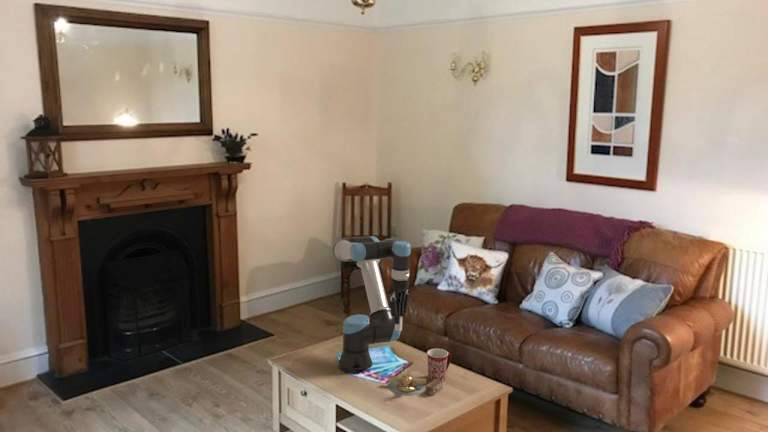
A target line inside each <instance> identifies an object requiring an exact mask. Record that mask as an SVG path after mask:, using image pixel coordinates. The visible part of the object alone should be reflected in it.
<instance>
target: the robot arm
mask: <svg viewBox="0 0 768 432" xmlns="http://www.w3.org/2000/svg"><path fill="white" fill-rule="evenodd" d="M331 250H332V255H333V257H334V258H335V259H337V260H338V261H339V262H340V261H341V262H355V264H356V266H357V267H358V268H360V271H361V274H362V280H363V283H364V287H365V291H366V296H367V301H368V305H369V310H370V313H369V315H367V314H352V315H350V316H347V317H346V318H345V319H344V321H343V324H342V325H343V326H342V352H341V355H340V358H339V360H338V368H339V369H340V370H341V371H342V372H345V373H349V374H361V373H363V372H364V371H367V370H369V369H370V368H372V367H373V360H372V358H371V355H370V352H369V348H370V347H369V346H370V345H372V344H383V343H390V342H394V341H397V340H398V339H399V338H400V335H401V332H402V331H403V320H404V317H405V316H406V313H407V310H408V305H409V298H410V295H411V290H409V289H408V288H409V286H410V279H409V278H410V267H411V266H410V265H411V252H412V249H411V243H409V242H408V241H406V240H405V241H404V240H395V239H393V238H386V239H384V240H383V241H380V240H379V238H378V237H376V236H373V235H372V236H370V235H367V236H366V235H365V236H357V237H343V238H341V239H338V240H337V241H336V242H334V244H333V246H332V249H331ZM387 259H388V260H391V276H390V277H391V280H390V281H391V282H390V285H391V287H392V295H391V296H388V299H387V294H386V291H385V287H384V282H383V278H382V274H381V271H380V266H379V263H380V261H381V260H387ZM388 301H389V302H388ZM389 305H390V306H389Z"/></svg>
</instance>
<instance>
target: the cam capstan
mask: <svg viewBox="0 0 768 432" xmlns="http://www.w3.org/2000/svg"><path fill="white" fill-rule="evenodd" d="M387 381H388V382H391V381H395V382H400V383H398V384H397V389H398V390H399V391H401V392H405V393H410V392H413V391H415V390H416V385H415V384H414V383H419V384H425V385H427V378H420V377H413V376H412V369H406V373H405V374H403V375H401V376H396V375H388V377H387Z"/></svg>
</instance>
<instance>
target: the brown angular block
mask: <svg viewBox="0 0 768 432" xmlns="http://www.w3.org/2000/svg"><path fill="white" fill-rule="evenodd" d="M425 386H426V389H425V395H428V396H431V397H432V396H433V395H435V394H436V393H438V392H440V391H441V390H443V382H442V381H441V380H438V379H435V380H434V381H430V382H429V383H428V384H425Z"/></svg>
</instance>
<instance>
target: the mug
mask: <svg viewBox="0 0 768 432" xmlns="http://www.w3.org/2000/svg"><path fill="white" fill-rule="evenodd" d="M426 354H427V374H428V375H427V378H428V380H429V381H430V382H432V381H434V380H435V379H438V380H441V381H442V383H443V382H444V381H445V380H446V375H447V370H448V368H449V367H450V364H451V360H452V354H451V353H450V352H448V351H447V350H446V349H443V348H432V349H428V350H427V353H426Z"/></svg>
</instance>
